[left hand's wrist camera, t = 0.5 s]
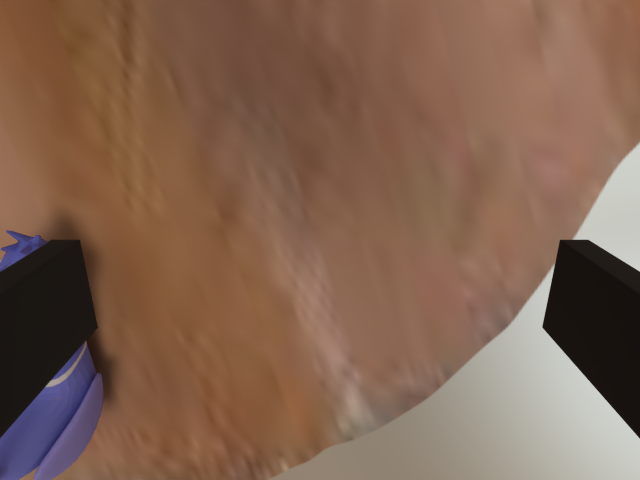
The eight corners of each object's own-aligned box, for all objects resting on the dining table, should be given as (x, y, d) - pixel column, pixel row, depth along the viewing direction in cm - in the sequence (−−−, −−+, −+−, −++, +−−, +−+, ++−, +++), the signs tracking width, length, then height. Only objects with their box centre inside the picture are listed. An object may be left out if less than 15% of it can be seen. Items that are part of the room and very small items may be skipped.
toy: (126, 392, 52) (119, 207, 39) (55, 556, 38) (6, 351, 25) (37, 381, 51) (-2, 187, 37) (-71, 546, 36) (-193, 326, 23)
